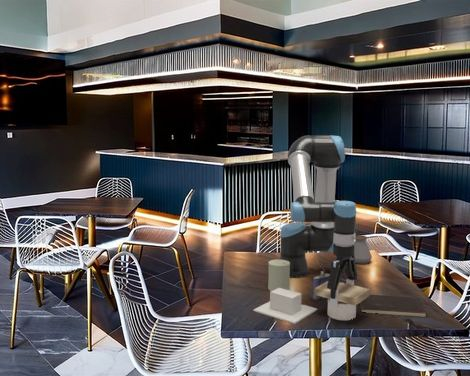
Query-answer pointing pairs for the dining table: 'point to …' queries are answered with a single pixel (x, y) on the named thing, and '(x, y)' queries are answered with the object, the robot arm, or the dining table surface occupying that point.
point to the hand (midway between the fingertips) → (341, 301)
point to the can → (279, 274)
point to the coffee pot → (361, 250)
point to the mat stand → (285, 306)
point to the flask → (319, 283)
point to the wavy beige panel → (345, 293)
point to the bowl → (342, 311)
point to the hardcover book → (393, 305)
